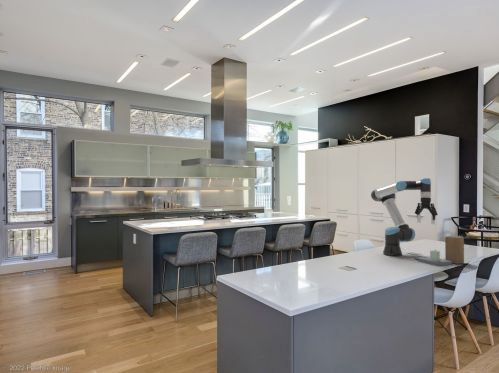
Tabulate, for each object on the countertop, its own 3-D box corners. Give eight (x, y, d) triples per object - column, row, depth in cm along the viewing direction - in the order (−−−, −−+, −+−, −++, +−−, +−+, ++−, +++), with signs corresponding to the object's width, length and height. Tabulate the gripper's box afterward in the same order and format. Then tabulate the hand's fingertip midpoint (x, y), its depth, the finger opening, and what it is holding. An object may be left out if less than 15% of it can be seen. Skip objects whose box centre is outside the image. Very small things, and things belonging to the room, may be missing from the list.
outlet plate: (418, 261, 268) (418, 258, 268) (431, 259, 273) (431, 256, 273) (438, 265, 251) (438, 262, 251) (451, 264, 256) (451, 261, 256)
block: (444, 262, 263) (444, 236, 264) (450, 260, 269) (450, 235, 270) (459, 264, 255) (458, 237, 256) (464, 262, 262) (464, 236, 262)
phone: (413, 259, 275) (413, 258, 275) (422, 257, 281) (422, 256, 281) (420, 260, 270) (420, 259, 270) (429, 259, 276) (429, 257, 276)
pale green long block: (430, 263, 260) (430, 249, 260) (434, 262, 262) (434, 249, 262) (435, 264, 256) (435, 250, 256) (439, 263, 258) (439, 250, 258)
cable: (419, 256, 285) (419, 255, 285) (419, 256, 285) (419, 255, 285) (434, 259, 275) (434, 258, 275) (435, 259, 276) (435, 257, 276)
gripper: (409, 197, 288) (410, 222, 288) (435, 197, 265) (435, 224, 265) (416, 196, 291) (416, 221, 291) (442, 197, 268) (442, 224, 267)
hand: (425, 223), depth 278 cm, fingers open, 13 cm apart
